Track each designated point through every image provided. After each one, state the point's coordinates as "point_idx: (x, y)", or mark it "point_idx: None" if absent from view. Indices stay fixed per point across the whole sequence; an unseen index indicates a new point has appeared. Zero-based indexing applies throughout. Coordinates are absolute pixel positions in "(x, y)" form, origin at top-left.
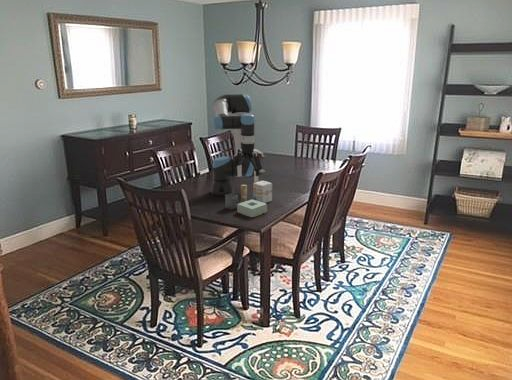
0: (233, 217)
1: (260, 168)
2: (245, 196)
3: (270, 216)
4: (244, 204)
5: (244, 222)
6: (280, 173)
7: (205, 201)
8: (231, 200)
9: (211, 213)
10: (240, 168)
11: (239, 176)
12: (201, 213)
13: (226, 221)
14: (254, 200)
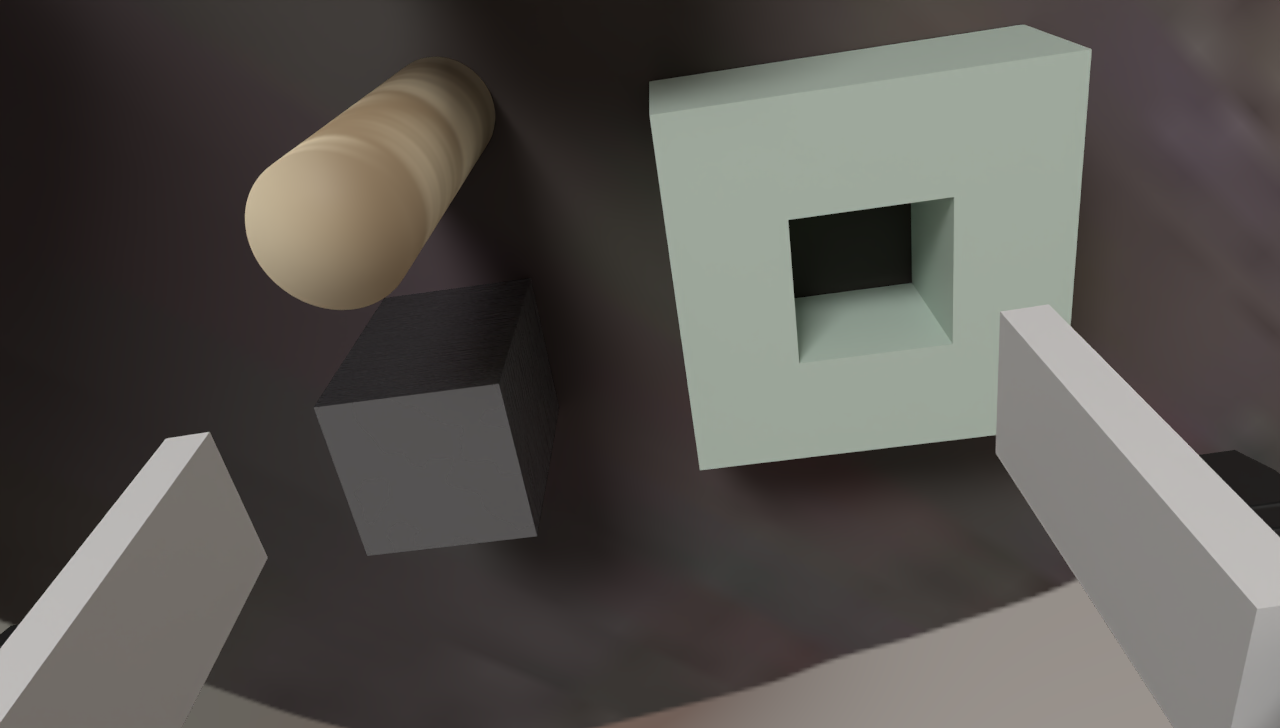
0: (817, 526)
1: None
2: (466, 164)
3: (1201, 109)
4: (798, 397)
5: None
6: None
7: (13, 492)
8: (542, 493)
9: (521, 639)
10: (86, 703)
11: (249, 521)
12: (455, 709)
13: (865, 640)
14: (740, 124)
